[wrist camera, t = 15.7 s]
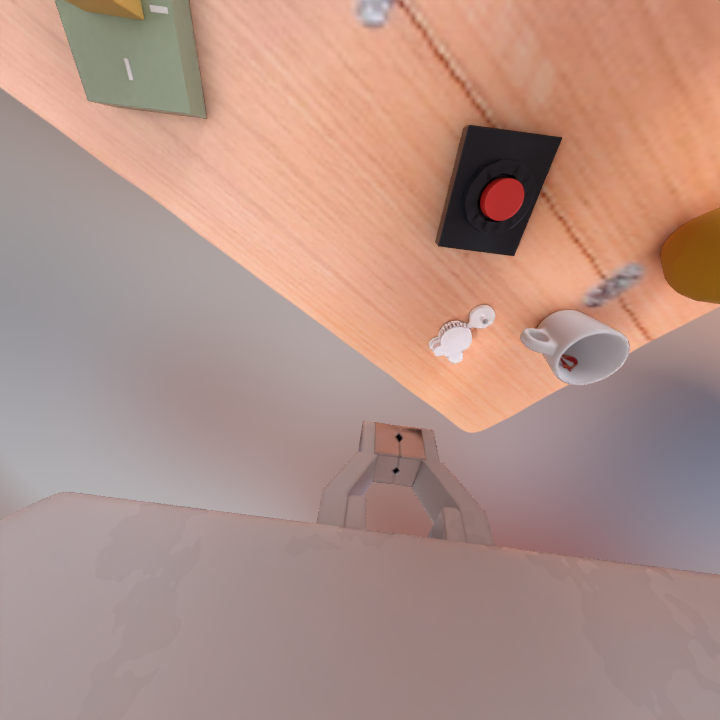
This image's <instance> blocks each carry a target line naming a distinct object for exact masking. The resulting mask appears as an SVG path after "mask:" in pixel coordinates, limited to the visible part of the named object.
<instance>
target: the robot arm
mask: <svg viewBox="0 0 720 720" xmlns="http://www.w3.org/2000/svg"><path fill="white" fill-rule="evenodd" d="M372 482H378V483H388V484H395V485H402V486H409V487H412V489H413V491H414V492H415V494H416V496H417V497H418V499H419V501H420V502H421V504H422V506H423V507H424V509H425V511H426V512H427V514H428V516H429V517H430V519H431V521H432V522H433V524H434V525H433V527H432V529H431V531H430V533H429V535H428V536H427V537H418V536H410V535H403V534H395V533H387V532H379V531H371V530H365V525H366V499H365V498H364V497H363V495H364V493H365V492H366V491H367V489H368V488H369V487H370V485H371V484H372ZM0 720H720V575H718V574H710V573H701V572H694V571H686V570H678V569H670V568H663V567H654V566H646V565H638V564H631V563H622V562H615V561H607V560H599V559H591V558H583V557H575V556H568V555H560V554H552V553H544V552H537V551H528V550H521V549H513V548H505V547H497V546H495V543H494V540H493V536H492V533H491V530H490V526H489V523H488V519H487V516H486V513H485V510H484V509H483V508H482V507H481V506H480V505H479V503H478V502H477V501H476V500H475V499H474V498H473V497H472V495H471V494H470V493H469V492H468V491H467V490H466V488H465V487H464V486H463V485H462V484H461V483H460V482H459V480H458V479H457V478H456V477H455V476H454V475H453V474H452V473H451V471H450V470H449V469H448V468H447V467H446V465H445V464H444V463H441V462H440V461H439V456H438V451H437V446H436V441H435V436H434V431H433V430H431V429H423V428H415V427H407V426H398V425H397V426H396V425H390V424H383V423H377V422H368V421H363V425H362V431H361V437H360V444H359V451H358V452H357V453H356V454H355V455H354V456H353V457H352V458H351V459H350V460H349V462H348V463H347V464H346V465H345V466H344V467H343V468H342V469H341V471H340V472H339V473H338V474H337V475H336V476H335V477H334V478H333V479H332V480H331V481H330V483H329V484H328V485H327V486H326V487H325V488H324V489H323V492H322V498H321V502H320V507H319V512H318V518H317V523H308V522H299V521H292V520H284V519H276V518H268V517H261V516H252V515H245V514H237V513H229V512H222V511H214V510H206V509H198V508H191V507H183V506H174V505H167V504H159V503H151V502H144V501H136V500H128V499H120V498H112V497H105V496H97V495H90V494H82V493H73V492H62V493H57V494H54V495H52V496H49V497H47V498H45V499H42V500H40V501H38V502H36V503H33V504H31V505H29V506H27V507H25V508H23V509H21V510H19V511H16V512H14V513H12V514H10V515H8V516H6V517H4V518H2V519H0Z"/></svg>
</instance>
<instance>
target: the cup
mask: <svg viewBox="0 0 720 720" xmlns="http://www.w3.org/2000/svg"><path fill="white" fill-rule="evenodd" d="M520 339H521V342H522V343H523V344H524V345H525V346H526V347H527V348H528V349H530V350H532V351H535V352H538V353H542V354H543V356H544V358H545V359H546V361H547V363H548V364H549V366H550V368H551V369H552V371H553V372H554V374H555V375H556V377H557V378H558V379H560V380H561V381H563V382H565V383H568V384H573V385H585V384H590V383H594V382H597V381H600V380H602V379H604V378H606V377H608V376H610V375H611V374H613V373H614V372H616V371H617V370H618V369H619V368H620V367H621V366H622V365H623V363H624V362H625V361H626V359H627V357H628V354H629V350H630V346H629V342H628V339H627V338H626V337H625V336H624V335H623V334H622V333H621V332H619V331H617V330H615V329H613V328H611V327H609V326H607V325H605V324H604V323H602V322H600V321H598V320H596V319H594V318H592V317H590V316H588V315H586V314H584V313H582V312H579V311H575V310H562V311H558V312H555V313H553V314H551V315H549V316H548V317H546V318H545V319H544V320H543V321H542V322H541V323H540V324H539V326H538V328H537V329H534V328H526V329H524V330H523V331H522V333H521V335H520Z"/></svg>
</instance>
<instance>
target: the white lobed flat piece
mask: <svg viewBox="0 0 720 720" xmlns="http://www.w3.org/2000/svg"><path fill="white" fill-rule="evenodd" d="M484 319H485V320H484ZM494 319H495V312H494V311H493V309H492V308H491V307H490V306H488V305H479V306H477V307H475V308H474V309H473V310H472V311H471V312H470V314H469V320H470V322H468V323H467V324H466V323H463V322H461V321H451V322H448V323H446V324H445V325H443V326H442V328H441V329H440V331H439V333H438V335H439V336H438V337H434V338H433V339H431V340H430V342H429V347H430V349H431V350H432V351H433V352H434V354H435V355H436V356H442V355H445V356H446V357H447V358H448V359H449V361H450V362H451V363H458V362H460V361H461V360H462V358H463V355H462V353H463V351H464V350H465V349H467V348H468V347H469V346H470V344H471V342H472V333H470V332H471V330H470V331H469V329H471V328H473V327H476V328H486V327H488V326H489V325H491V324H492V323H493V321H494ZM455 323H456V324H455ZM458 323H459V324H458ZM462 324H463V325H462ZM463 326H464V327H463ZM441 335H442V336H441ZM423 358H424V357H423Z"/></svg>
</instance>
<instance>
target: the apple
mask: <svg viewBox="0 0 720 720" xmlns="http://www.w3.org/2000/svg"><path fill="white" fill-rule="evenodd" d="M660 257H661V264H662V268H663V272H664V276H665V279H666V281H667V282H668V284H669V285H670V286H671V287H672V288H673V289H674V290H675V291H676V292H678V293H679V294H681V295H683V296H686V297H688V298H691V299H693V300H696V301H702V302H709V303H716V304H720V208H717V209H715V210H712V211H710V212H708V213H705V214H703V215H701V216H698V217H696V218H694V219H692V220H690V221H689V222H687V223H685V224H684V225H682V226H681V227H679V228H678V229H677V230H676V231H675V232H674V233H672V234H671V235H670V237H669V238H668V239H667V240H666V242H665V243H664V244H663V246H662V249H661V253H660Z"/></svg>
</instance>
